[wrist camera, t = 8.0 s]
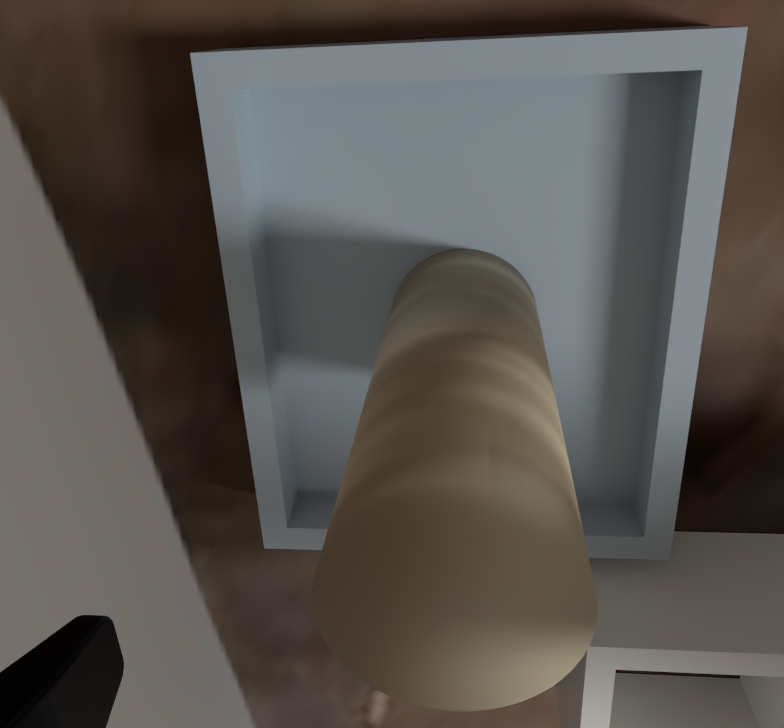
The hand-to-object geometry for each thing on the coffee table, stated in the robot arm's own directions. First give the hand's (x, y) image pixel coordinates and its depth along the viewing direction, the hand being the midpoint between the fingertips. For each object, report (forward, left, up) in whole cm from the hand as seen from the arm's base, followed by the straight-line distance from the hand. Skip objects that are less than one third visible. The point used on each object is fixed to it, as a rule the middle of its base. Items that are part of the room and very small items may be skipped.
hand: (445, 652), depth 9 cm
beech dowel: (0, 0, -12) cm, 12 cm away
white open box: (-7, +12, -13) cm, 19 cm away
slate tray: (0, 0, -13) cm, 13 cm away
